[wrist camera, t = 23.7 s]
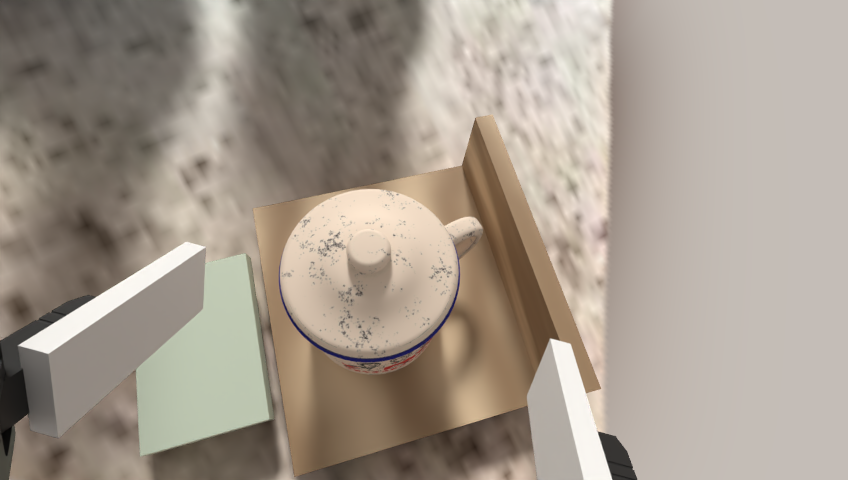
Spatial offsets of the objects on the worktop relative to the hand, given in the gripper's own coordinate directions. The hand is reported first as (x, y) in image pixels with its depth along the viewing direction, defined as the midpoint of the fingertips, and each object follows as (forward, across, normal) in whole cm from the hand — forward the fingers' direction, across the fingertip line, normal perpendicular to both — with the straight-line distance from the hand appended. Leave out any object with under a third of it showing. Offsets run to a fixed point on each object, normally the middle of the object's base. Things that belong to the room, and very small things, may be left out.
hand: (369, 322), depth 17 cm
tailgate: (+10, -7, -9) cm, 15 cm away
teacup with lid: (+13, 0, -6) cm, 14 cm away
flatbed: (+15, 0, -9) cm, 17 cm away
